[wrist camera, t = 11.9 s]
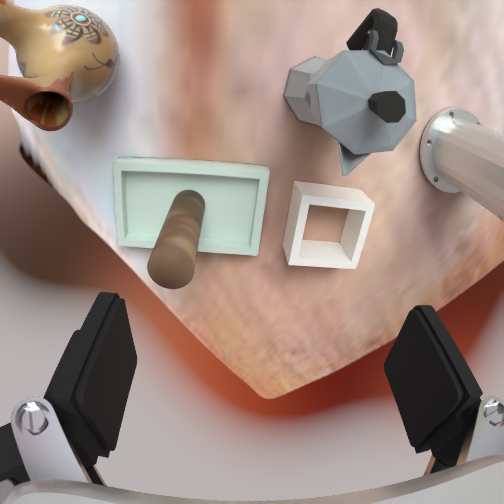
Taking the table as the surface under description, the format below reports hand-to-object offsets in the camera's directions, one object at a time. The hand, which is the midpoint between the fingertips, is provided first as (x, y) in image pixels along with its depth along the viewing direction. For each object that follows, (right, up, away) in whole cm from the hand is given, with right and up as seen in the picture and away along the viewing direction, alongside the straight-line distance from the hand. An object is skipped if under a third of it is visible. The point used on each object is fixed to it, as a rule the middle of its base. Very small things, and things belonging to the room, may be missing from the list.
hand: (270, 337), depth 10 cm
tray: (-8, +9, +29) cm, 32 cm away
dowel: (-8, +8, +29) cm, 31 cm away
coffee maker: (+7, +22, +23) cm, 33 cm away
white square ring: (+8, +7, +31) cm, 33 cm away
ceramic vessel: (-19, +26, +19) cm, 37 cm away
